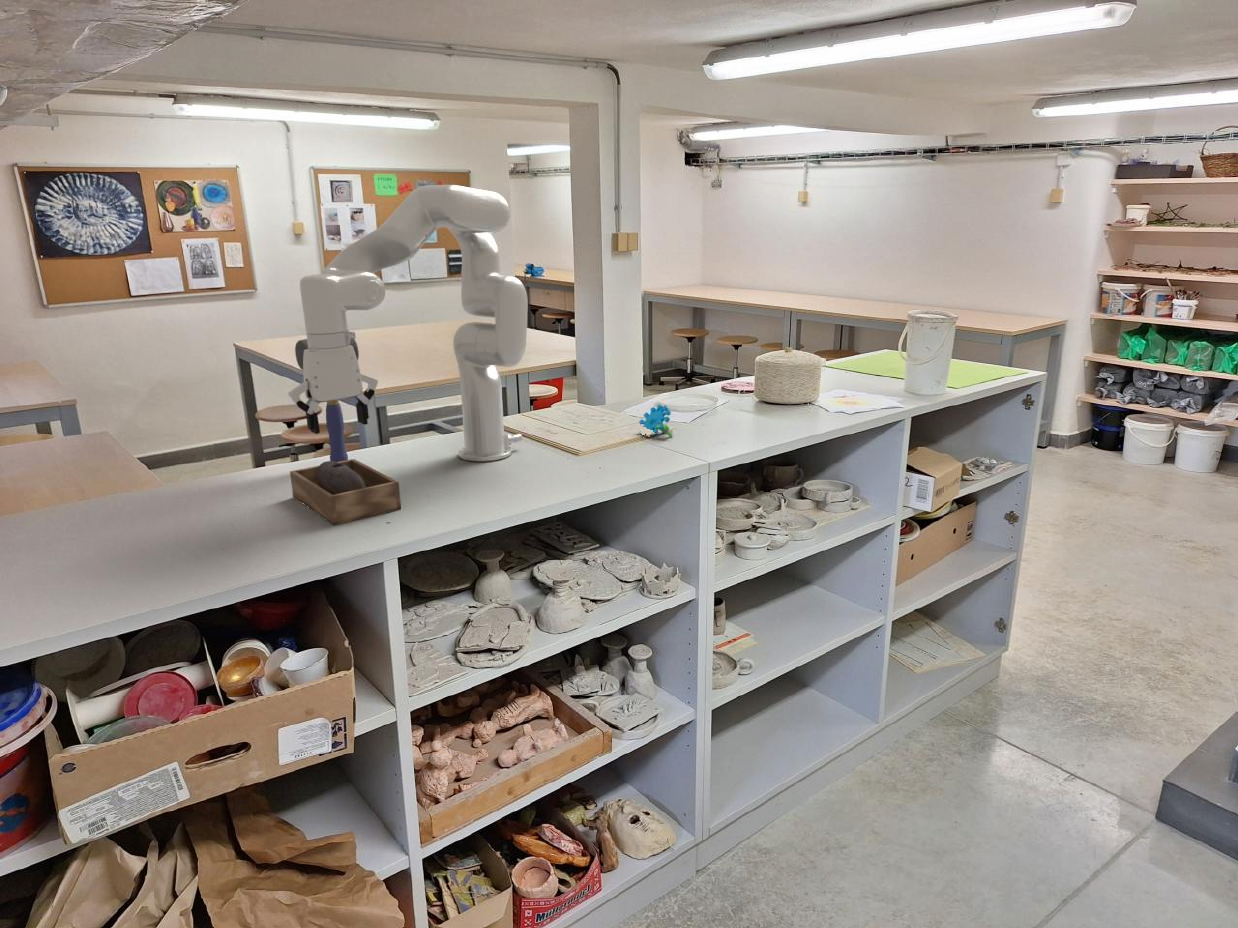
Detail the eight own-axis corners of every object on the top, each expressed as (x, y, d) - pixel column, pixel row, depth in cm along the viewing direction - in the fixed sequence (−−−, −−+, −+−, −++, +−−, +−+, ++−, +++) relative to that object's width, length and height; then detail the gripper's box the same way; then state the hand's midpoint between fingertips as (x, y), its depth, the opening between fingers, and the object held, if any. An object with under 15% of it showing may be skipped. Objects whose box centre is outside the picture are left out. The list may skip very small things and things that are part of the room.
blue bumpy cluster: (630, 426, 220) (655, 398, 220) (643, 438, 224) (668, 411, 224) (649, 441, 211) (676, 412, 211) (663, 454, 214) (689, 425, 214)
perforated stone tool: (377, 505, 165) (374, 471, 163) (353, 511, 161) (349, 477, 159) (340, 489, 175) (336, 457, 173) (316, 495, 171) (312, 462, 169)
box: (356, 483, 180) (354, 458, 179) (401, 509, 164) (398, 481, 163) (293, 497, 172) (289, 471, 170) (333, 525, 156) (330, 496, 154)
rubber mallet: (319, 474, 187) (303, 340, 179) (307, 467, 193) (291, 337, 184) (372, 463, 195) (359, 335, 186) (358, 457, 200) (345, 331, 192)
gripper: (363, 333, 167) (373, 416, 172) (275, 344, 156) (288, 432, 162) (379, 337, 161) (389, 423, 166) (289, 349, 151) (302, 440, 156)
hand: (339, 427), depth 164 cm, fingers open, 9 cm apart
